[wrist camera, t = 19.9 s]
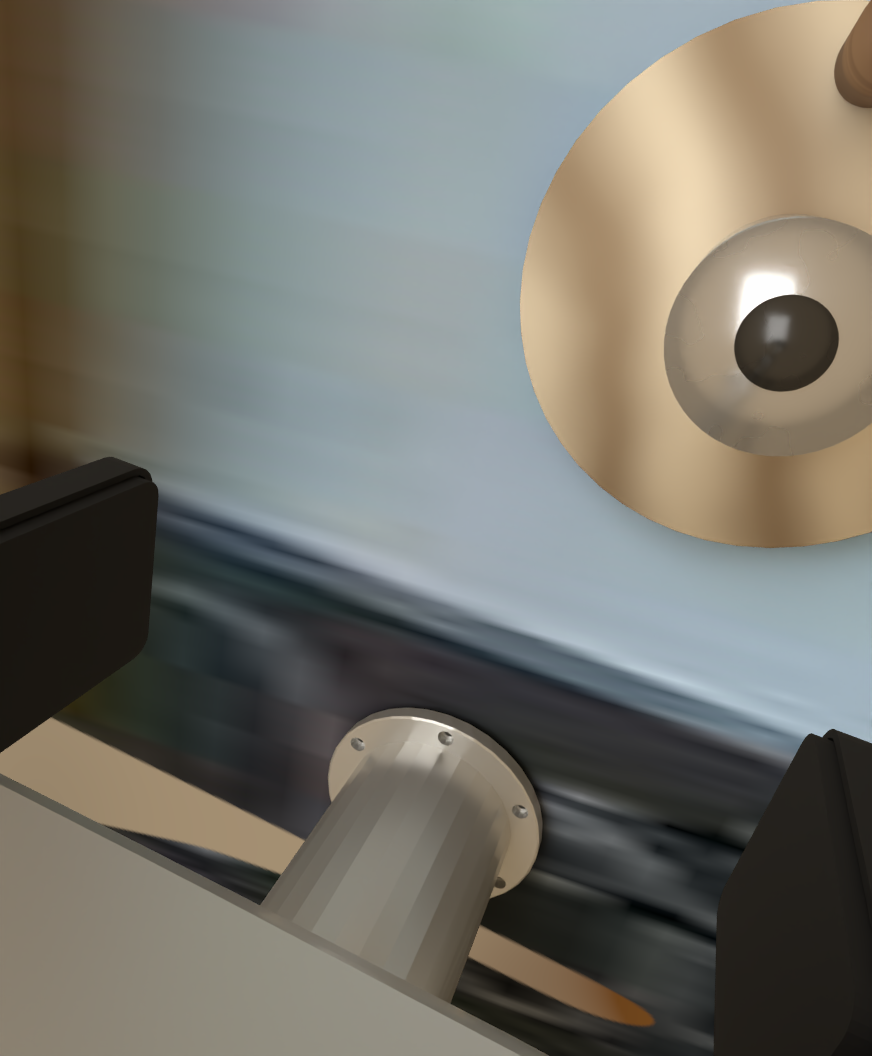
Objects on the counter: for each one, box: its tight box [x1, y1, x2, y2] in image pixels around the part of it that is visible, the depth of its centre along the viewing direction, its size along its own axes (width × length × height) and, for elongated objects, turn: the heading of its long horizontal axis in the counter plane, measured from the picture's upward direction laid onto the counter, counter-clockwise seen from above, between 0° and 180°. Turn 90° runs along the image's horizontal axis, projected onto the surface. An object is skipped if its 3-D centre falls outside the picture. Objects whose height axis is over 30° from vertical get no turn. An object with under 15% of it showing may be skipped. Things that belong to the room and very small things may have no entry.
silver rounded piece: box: [664, 214, 872, 456], centre depth 24 cm, size 6×6×7 cm
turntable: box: [520, 0, 872, 548], centre depth 25 cm, size 18×18×6 cm
